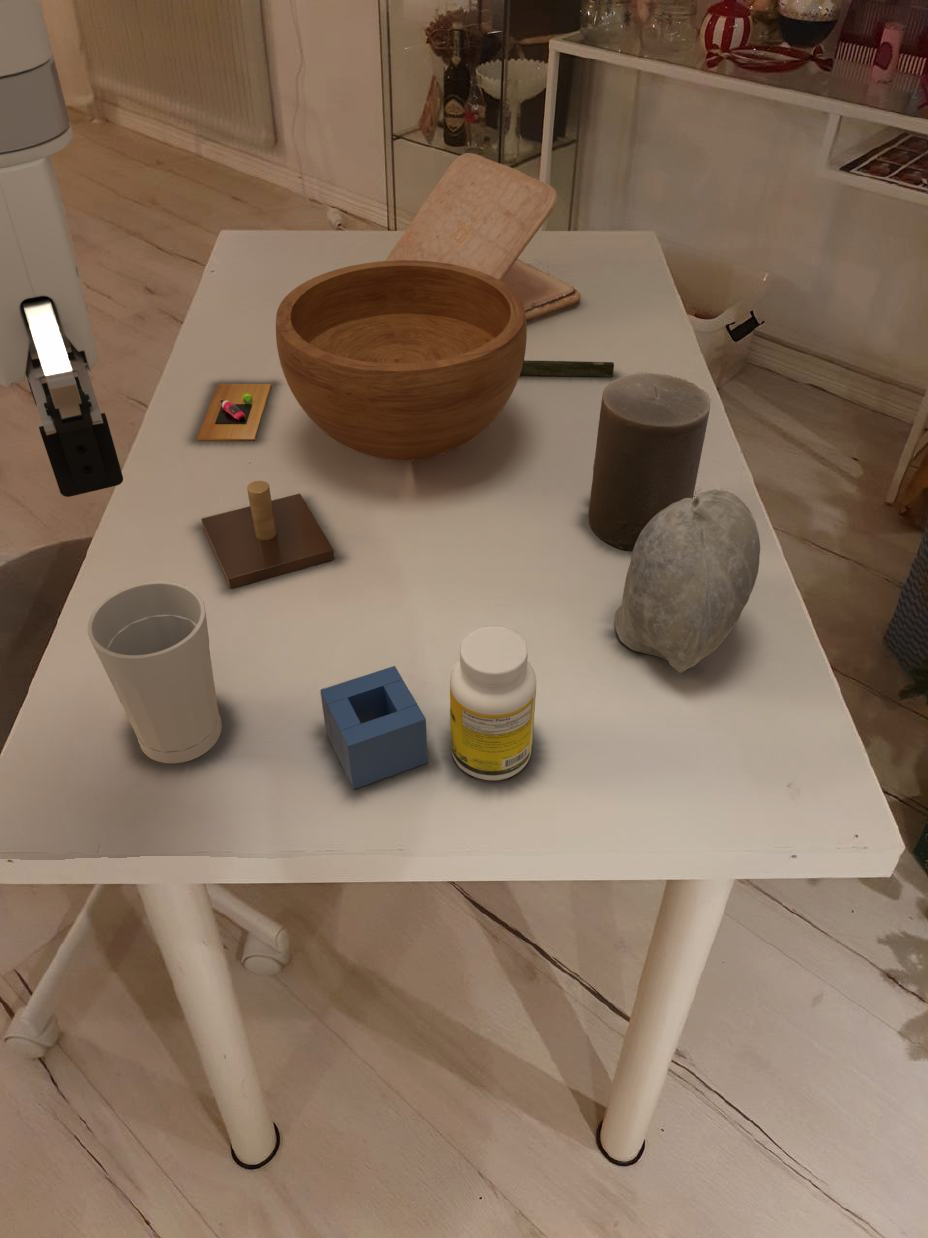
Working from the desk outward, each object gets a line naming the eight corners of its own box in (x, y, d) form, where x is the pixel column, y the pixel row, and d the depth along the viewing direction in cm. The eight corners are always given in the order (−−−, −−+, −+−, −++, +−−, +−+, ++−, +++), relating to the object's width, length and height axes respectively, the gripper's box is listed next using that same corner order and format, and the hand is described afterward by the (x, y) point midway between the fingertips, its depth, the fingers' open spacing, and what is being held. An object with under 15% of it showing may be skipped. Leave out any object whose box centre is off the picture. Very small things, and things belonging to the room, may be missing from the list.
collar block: (353, 790, 72) (347, 746, 69) (326, 733, 76) (319, 689, 73) (427, 763, 74) (426, 719, 70) (397, 709, 78) (394, 665, 74)
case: (375, 291, 135) (367, 169, 124) (495, 255, 144) (498, 138, 133) (463, 348, 123) (463, 218, 112) (588, 304, 132) (599, 180, 121)
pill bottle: (466, 712, 78) (466, 609, 70) (541, 732, 76) (549, 629, 69) (438, 771, 73) (436, 667, 66) (517, 793, 72) (524, 690, 64)
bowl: (242, 453, 105) (219, 320, 95) (393, 363, 120) (387, 240, 110) (424, 540, 94) (419, 401, 84) (565, 429, 109) (576, 300, 98)
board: (271, 385, 116) (269, 374, 115) (254, 440, 107) (252, 428, 106) (218, 385, 116) (216, 373, 115) (197, 440, 107) (194, 428, 106)
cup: (216, 682, 80) (188, 568, 72) (245, 749, 75) (218, 636, 67) (118, 714, 77) (77, 600, 69) (140, 786, 72) (99, 672, 64)
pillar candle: (610, 560, 92) (628, 420, 82) (574, 501, 99) (587, 365, 89) (705, 543, 94) (734, 404, 84) (663, 486, 101) (685, 352, 90)
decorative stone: (600, 578, 90) (618, 437, 80) (711, 574, 90) (743, 433, 80) (631, 699, 79) (657, 553, 69) (757, 693, 79) (801, 548, 69)
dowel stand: (230, 589, 89) (218, 530, 84) (203, 528, 95) (190, 471, 91) (334, 559, 92) (328, 502, 87) (301, 502, 98) (293, 446, 94)
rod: (612, 374, 118) (613, 359, 116) (612, 378, 117) (614, 363, 116) (352, 371, 118) (351, 356, 117) (352, 375, 118) (350, 359, 116)
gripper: (-122, 71, 48) (-9, 386, 59) (-111, 183, 36) (27, 547, 48) (38, 55, 50) (117, 361, 62) (97, 156, 39) (180, 509, 50)
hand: (78, 442), depth 55 cm, fingers open, 9 cm apart
